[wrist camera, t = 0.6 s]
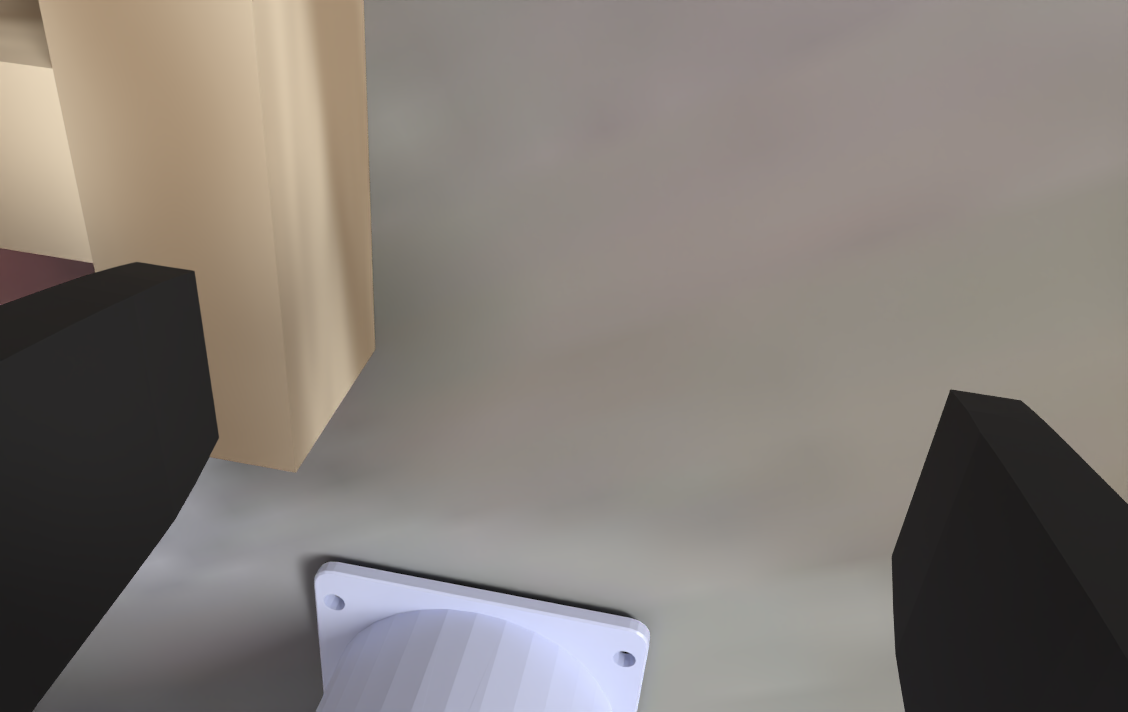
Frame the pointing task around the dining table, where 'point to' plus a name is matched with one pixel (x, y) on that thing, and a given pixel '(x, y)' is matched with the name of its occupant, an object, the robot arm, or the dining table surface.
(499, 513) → the dining table surface
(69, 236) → the T block
